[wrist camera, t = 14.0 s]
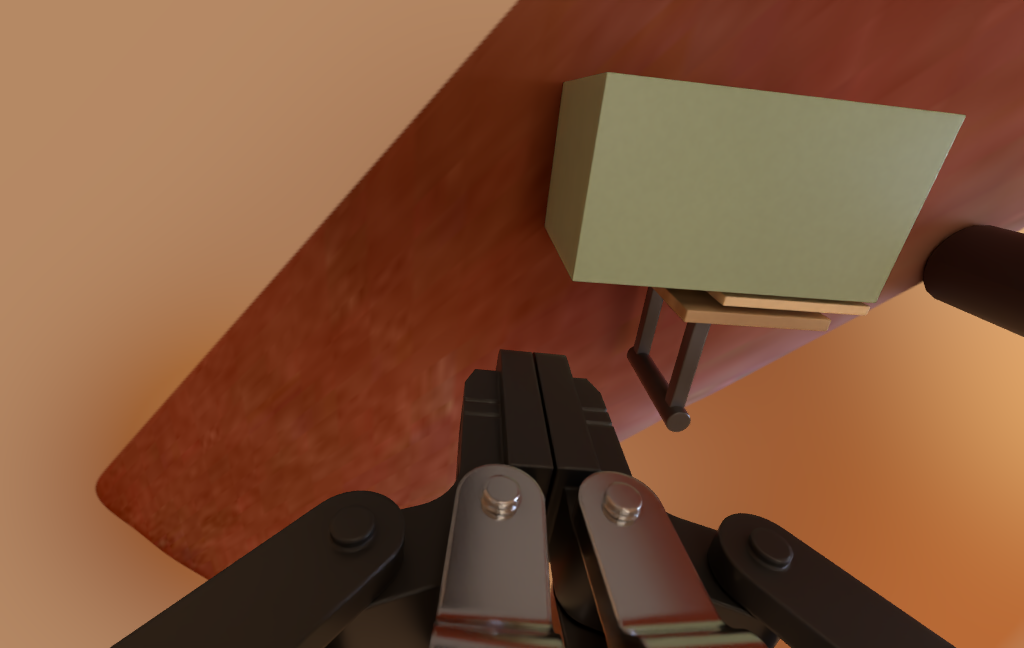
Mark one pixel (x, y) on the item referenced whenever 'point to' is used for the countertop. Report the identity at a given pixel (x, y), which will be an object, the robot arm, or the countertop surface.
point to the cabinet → (738, 190)
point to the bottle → (981, 275)
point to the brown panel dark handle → (697, 342)
